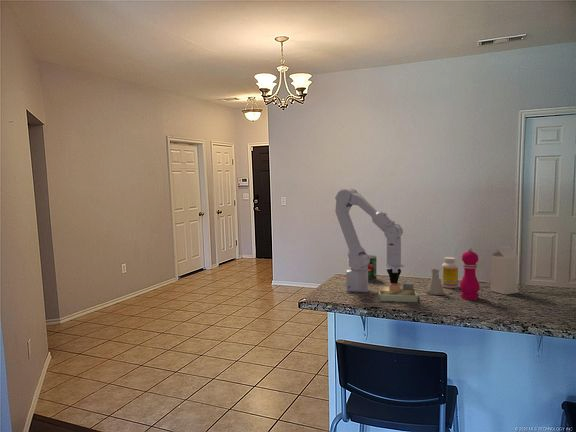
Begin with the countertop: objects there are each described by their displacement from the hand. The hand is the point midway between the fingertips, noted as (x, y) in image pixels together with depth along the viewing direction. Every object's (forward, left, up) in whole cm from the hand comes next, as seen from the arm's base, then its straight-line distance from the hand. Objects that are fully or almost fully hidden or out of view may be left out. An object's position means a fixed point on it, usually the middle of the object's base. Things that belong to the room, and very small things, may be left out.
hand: (393, 286), depth 170 cm
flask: (+17, +4, -3) cm, 18 cm away
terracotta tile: (0, -3, -1) cm, 3 cm away
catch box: (+1, -8, -3) cm, 9 cm away
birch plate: (+1, -1, -3) cm, 3 cm away
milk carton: (+45, +9, -3) cm, 46 cm away
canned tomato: (-10, +28, -3) cm, 30 cm away
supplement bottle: (+25, +16, -3) cm, 30 cm away
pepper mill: (+29, -2, -3) cm, 29 cm away
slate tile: (+5, 0, -1) cm, 6 cm away
